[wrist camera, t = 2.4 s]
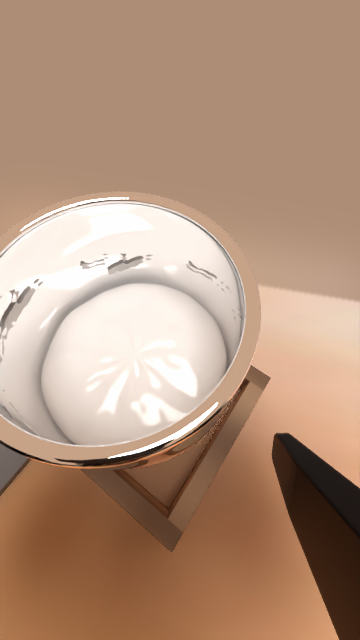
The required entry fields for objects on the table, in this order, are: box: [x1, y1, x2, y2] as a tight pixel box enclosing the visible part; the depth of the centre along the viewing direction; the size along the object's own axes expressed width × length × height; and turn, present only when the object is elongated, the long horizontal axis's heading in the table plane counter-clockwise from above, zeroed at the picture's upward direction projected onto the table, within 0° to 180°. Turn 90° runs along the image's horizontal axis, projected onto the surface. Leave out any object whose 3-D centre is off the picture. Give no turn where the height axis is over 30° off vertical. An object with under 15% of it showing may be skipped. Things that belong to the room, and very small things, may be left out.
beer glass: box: [0, 192, 261, 470], centre depth 12 cm, size 7×7×15 cm
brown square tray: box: [80, 365, 270, 552], centre depth 18 cm, size 11×11×2 cm
